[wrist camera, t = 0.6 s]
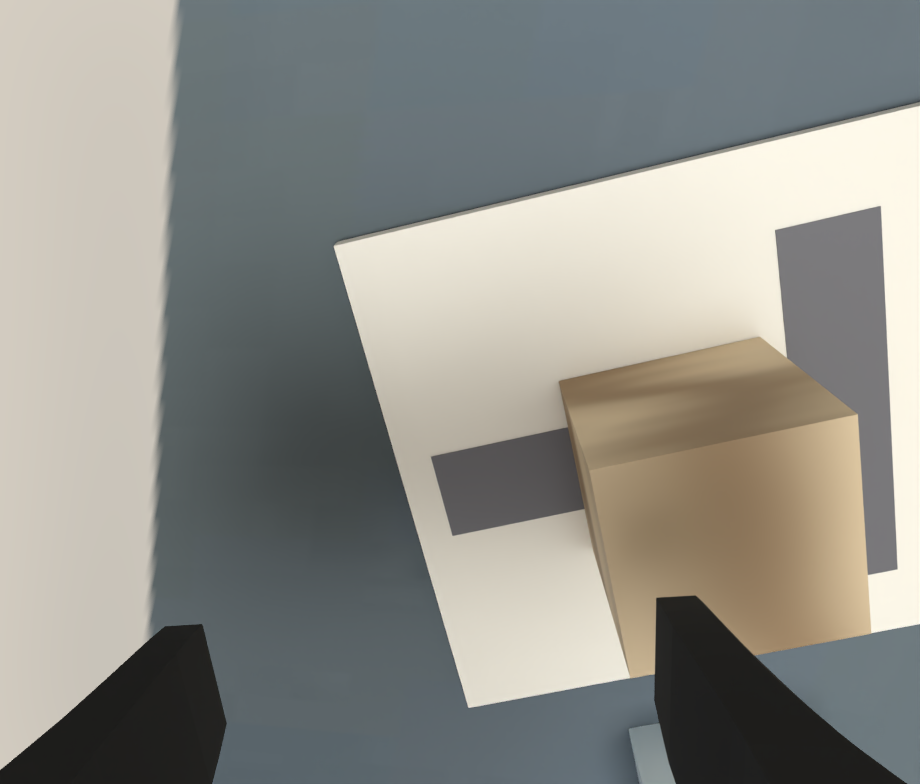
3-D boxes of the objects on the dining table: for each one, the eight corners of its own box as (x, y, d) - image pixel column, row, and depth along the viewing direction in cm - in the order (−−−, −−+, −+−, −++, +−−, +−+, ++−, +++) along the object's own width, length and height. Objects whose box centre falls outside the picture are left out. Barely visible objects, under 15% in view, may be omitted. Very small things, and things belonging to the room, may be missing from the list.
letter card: (468, 693, 24) (468, 708, 23) (337, 241, 19) (333, 246, 18) (941, 604, 23) (954, 618, 22) (929, 99, 18) (946, 99, 17)
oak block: (592, 550, 21) (630, 678, 16) (558, 380, 19) (589, 470, 15) (779, 513, 21) (871, 633, 16) (759, 336, 19) (858, 414, 14)
